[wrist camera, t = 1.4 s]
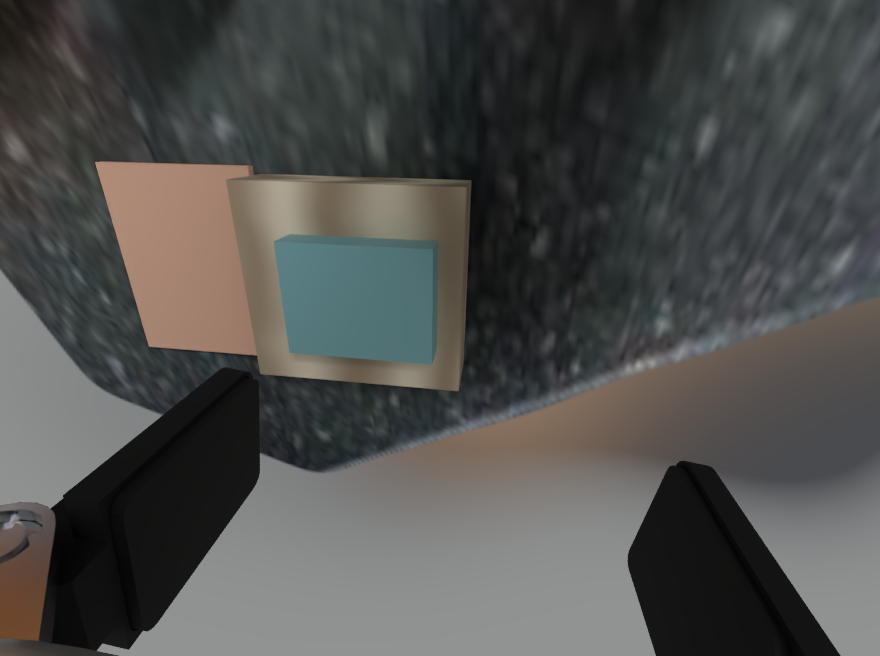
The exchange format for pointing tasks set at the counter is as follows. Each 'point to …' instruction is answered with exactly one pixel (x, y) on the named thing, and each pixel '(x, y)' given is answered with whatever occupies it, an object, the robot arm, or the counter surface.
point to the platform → (352, 215)
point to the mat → (181, 252)
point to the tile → (359, 296)
